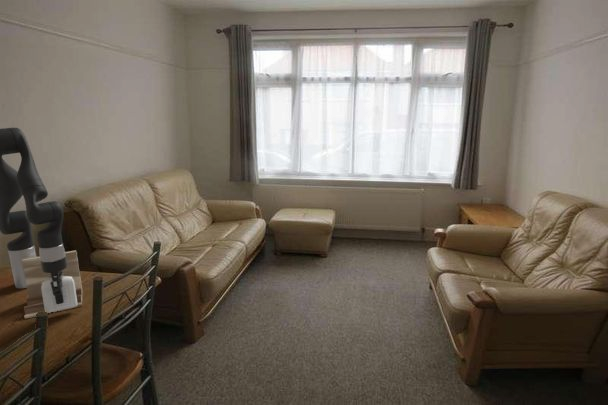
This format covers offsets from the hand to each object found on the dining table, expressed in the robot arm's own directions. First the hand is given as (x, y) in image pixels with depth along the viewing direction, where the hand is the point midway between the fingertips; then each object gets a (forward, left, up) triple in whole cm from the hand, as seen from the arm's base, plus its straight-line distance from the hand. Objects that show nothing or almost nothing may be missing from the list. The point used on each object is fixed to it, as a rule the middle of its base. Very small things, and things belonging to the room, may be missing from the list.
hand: (60, 300), depth 135 cm
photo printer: (0, 0, -4) cm, 4 cm away
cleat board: (-12, -3, -6) cm, 13 cm away
